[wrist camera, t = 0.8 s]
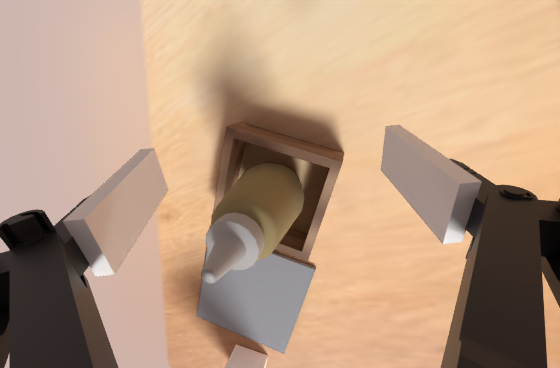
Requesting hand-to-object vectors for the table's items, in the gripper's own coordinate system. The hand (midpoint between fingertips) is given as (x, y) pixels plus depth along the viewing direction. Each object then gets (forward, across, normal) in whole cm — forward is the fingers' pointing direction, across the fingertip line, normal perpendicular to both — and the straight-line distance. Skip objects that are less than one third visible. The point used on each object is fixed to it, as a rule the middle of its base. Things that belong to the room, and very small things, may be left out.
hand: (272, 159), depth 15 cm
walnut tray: (+16, 0, -11) cm, 19 cm away
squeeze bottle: (+16, 0, -11) cm, 19 cm away
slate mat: (+14, -6, -29) cm, 33 cm away
